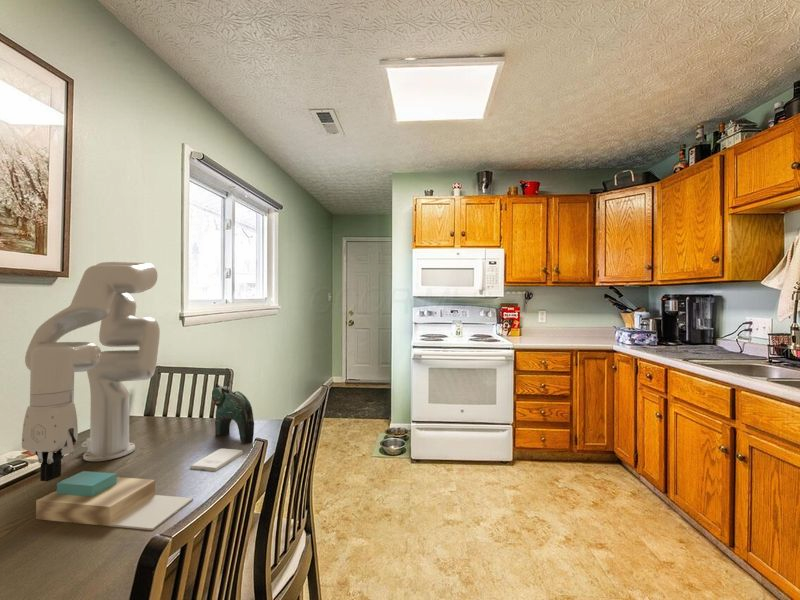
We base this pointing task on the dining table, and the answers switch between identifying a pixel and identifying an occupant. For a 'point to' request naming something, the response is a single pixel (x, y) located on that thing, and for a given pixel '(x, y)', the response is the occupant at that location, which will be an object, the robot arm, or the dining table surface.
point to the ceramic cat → (233, 413)
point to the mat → (152, 512)
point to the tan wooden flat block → (96, 503)
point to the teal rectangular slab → (86, 483)
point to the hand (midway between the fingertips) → (50, 478)
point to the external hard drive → (217, 459)
